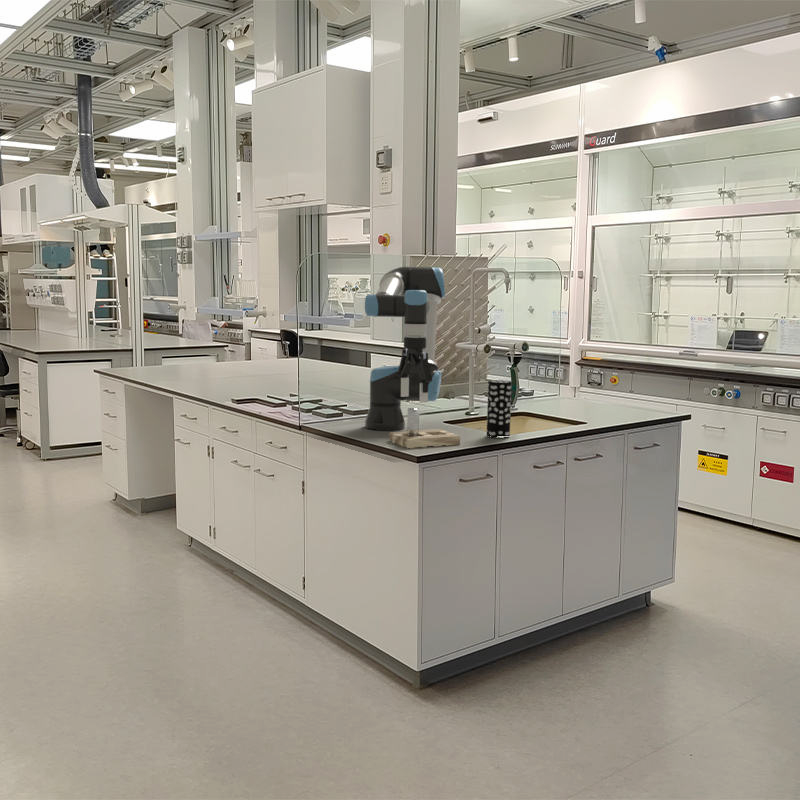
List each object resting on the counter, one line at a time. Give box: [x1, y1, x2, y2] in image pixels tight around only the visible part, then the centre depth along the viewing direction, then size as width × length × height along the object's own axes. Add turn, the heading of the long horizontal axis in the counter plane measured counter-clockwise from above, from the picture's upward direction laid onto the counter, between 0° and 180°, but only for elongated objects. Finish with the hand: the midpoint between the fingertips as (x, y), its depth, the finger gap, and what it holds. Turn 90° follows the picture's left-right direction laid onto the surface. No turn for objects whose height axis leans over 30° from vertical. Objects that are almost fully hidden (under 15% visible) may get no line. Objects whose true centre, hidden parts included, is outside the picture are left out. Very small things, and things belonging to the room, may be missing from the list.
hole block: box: [388, 428, 461, 449], centre depth 272 cm, size 14×20×3 cm
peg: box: [406, 407, 420, 437], centre depth 269 cm, size 4×4×12 cm
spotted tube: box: [486, 379, 513, 438], centre depth 285 cm, size 8×8×20 cm
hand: (413, 399), depth 268 cm, fingers open, 13 cm apart
